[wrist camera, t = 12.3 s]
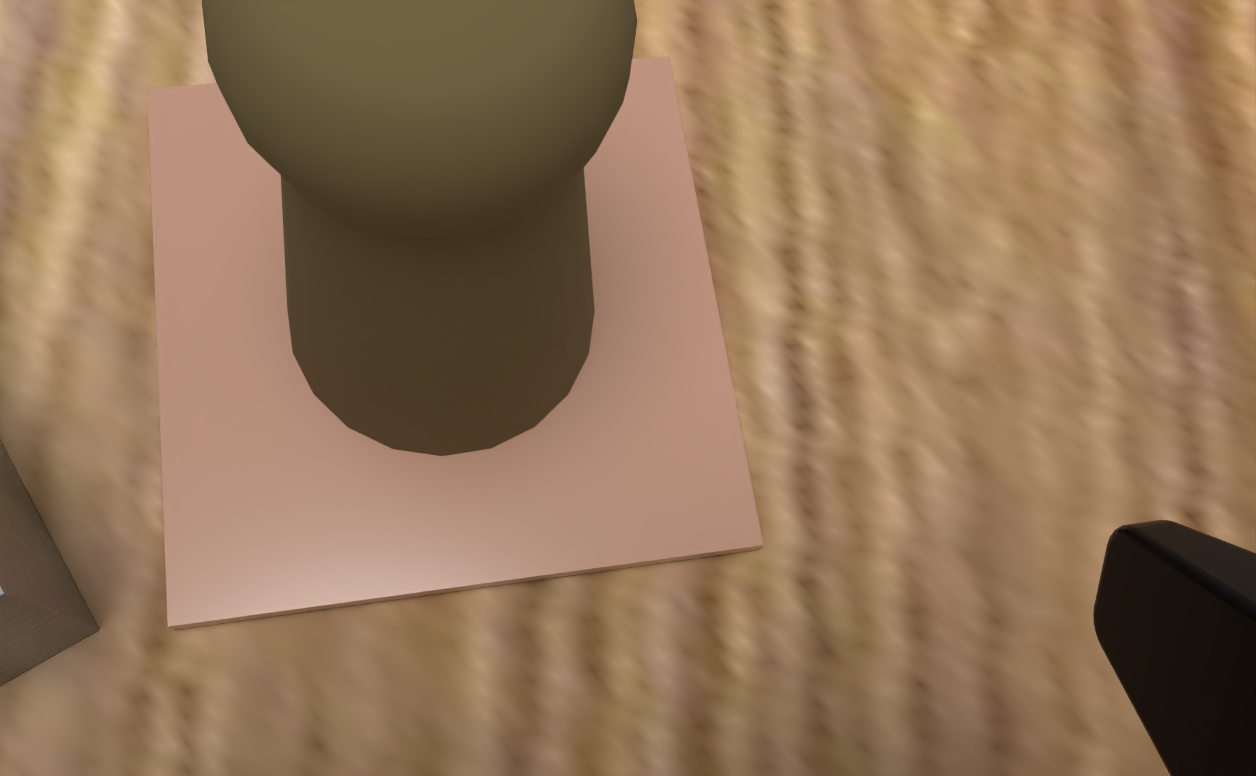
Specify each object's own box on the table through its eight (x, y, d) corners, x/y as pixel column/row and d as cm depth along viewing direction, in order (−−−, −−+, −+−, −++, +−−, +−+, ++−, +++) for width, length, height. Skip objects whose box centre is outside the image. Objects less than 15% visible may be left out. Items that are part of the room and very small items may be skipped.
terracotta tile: (757, 549, 23) (763, 545, 22) (174, 630, 21) (167, 626, 20) (665, 69, 26) (669, 56, 26) (153, 101, 24) (147, 88, 24)
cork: (599, 455, 22) (709, 180, 12) (278, 457, 22) (100, 165, 11) (590, 177, 24) (677, -265, 14) (294, 170, 23) (155, -306, 13)
